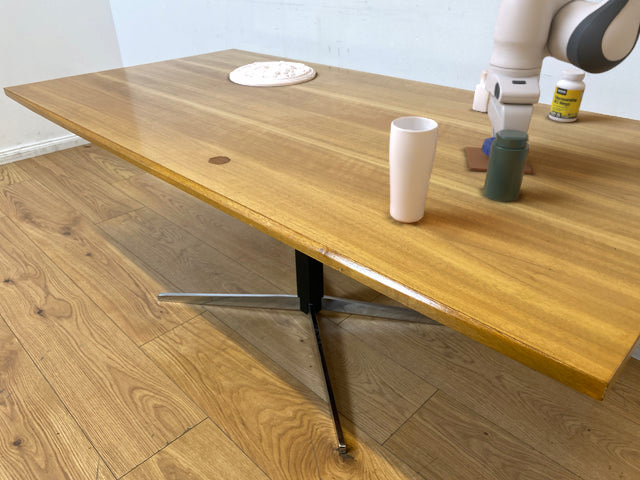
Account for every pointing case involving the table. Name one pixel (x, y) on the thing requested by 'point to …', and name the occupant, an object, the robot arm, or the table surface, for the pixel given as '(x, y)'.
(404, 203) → the drinking glass
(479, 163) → the coaster
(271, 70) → the ceiling medallion
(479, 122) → the table surface
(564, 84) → the pill bottle
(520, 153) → the jar
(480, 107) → the white corked bottle
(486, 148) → the lid
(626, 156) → the table surface
